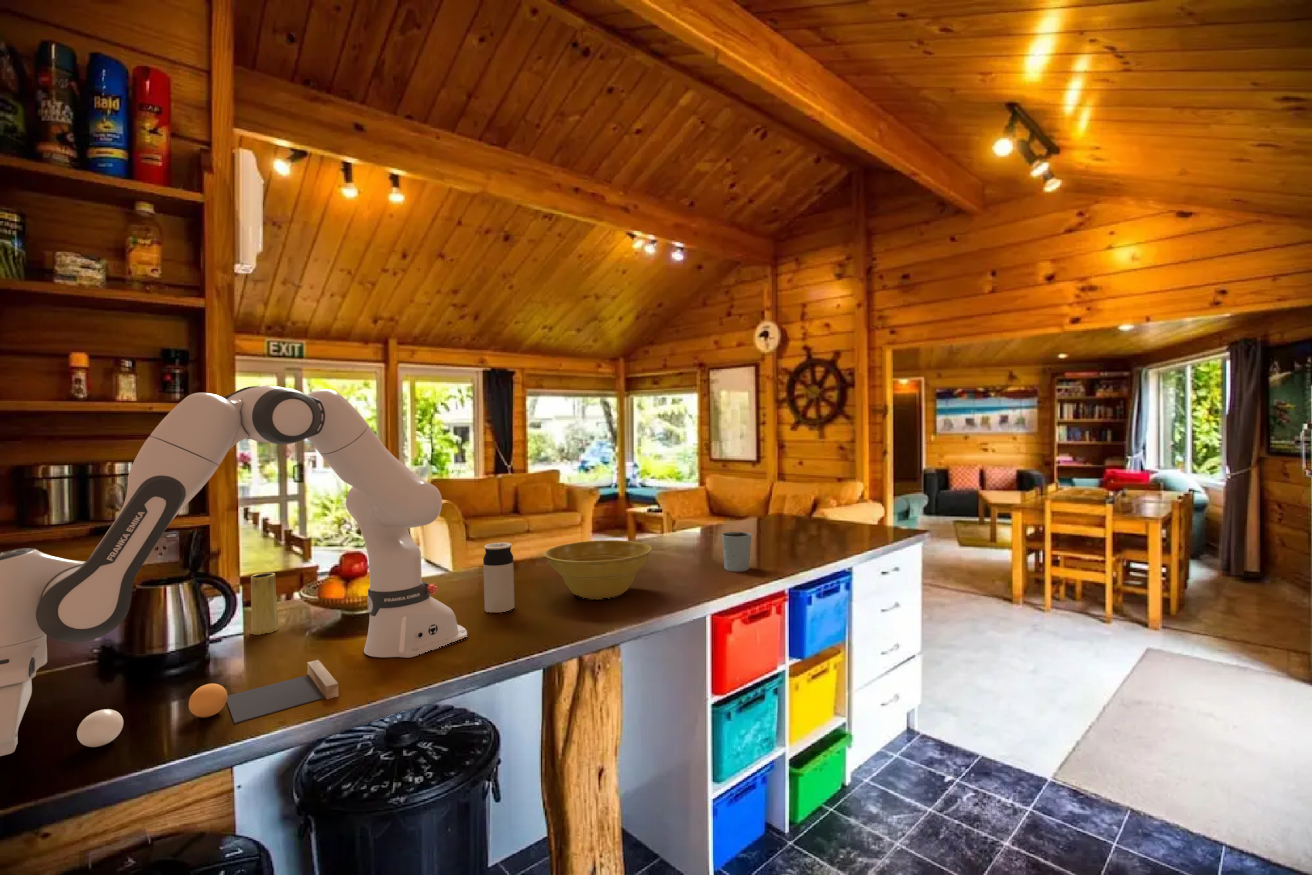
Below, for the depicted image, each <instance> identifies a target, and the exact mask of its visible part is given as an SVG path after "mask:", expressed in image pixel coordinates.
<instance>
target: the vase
mask: <svg viewBox="0 0 1312 875" xmlns="http://www.w3.org/2000/svg"><path fill="white" fill-rule="evenodd" d="M276 585H277V584H276V574H275V572H263V573H257V574H254V575H251V576H250V608H251V611H250V612H251V613H250V614H251V616H250V617H251V618H250V635H252V634H253V636H261V634H263V635H266V634H265V633H268V634H272V633H274V631H275V632H277V631H278V630H279V629H280V626H279V615H278V612H279V611H278V601H277V592H276V591H277V589H276Z"/></svg>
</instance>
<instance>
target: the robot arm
mask: <svg viewBox="0 0 1312 875" xmlns="http://www.w3.org/2000/svg"><path fill="white" fill-rule="evenodd" d="M246 439H247V440H252V441H255V442H257V443H264V444H274V445H291V444H295V443H298V442H301V441H303V440H305V439H306V440H308V441H309V442H310V443H311V444H312V445H313V447H314V448H315V450H316V451H317V452H318V454H320V456H321V457H322V459H324V460H325V463H327V464H328V465H329V466H330V468H331V469H332V470H333V471H334V472H335V474H336V475H337V476H338V478H339V479H340V480H342V481H343V482H344V483H345V484H347V485H349V486H351V488H350V489H349V490H348V492H347V495H346V499H345V505H346V510H347V512H348V514H349V515H350V516H351V517H352V518H353V519H354V520H355V522H356V523H357V525H358V527H359V530H360V532H361V535H362V538H363V541H364V545H365V548H366V553H367V557H368V573H369V576H368V577H369V588H368V589H367V596H366V597H367V599H366V600H367V610H368V614H369V618H368V619H369V620H368V622H369V623H368V629H367V630H368V631H367V635H366V641H365V645H364V648H363V653H364V654H365V655H367V656H369V657H373V658H407V659H408V658H413V657H416V656H420V655H423V654H425V652H426V653H428V651H429V652H431V651H430V650H432V651H435V650H437V649H440V648H442V647H441V646H443V647H446V646H448V645H447V644H449V643H451V642H455V641H457V640H459V639H462V638H464V637H467V638H468V636H467V635H468V631H467V629H466V628H465V627H463V626H462V625H461V624H458V620H457V617H456V614H455V613H454V611H453V609H452V608H451V607H450V606H448V605H446V604H444V603H443V602H441V601H439V600H438V599H436V598H434V597H432V596H431V594H432V595H435V594H436V593H437V592H438V590H439V589H438V586H437V585H435V584H434V583H428V582H425V581H423V580H422V573H423V572H422V552H421V549H420V547H419V545H418V544H417V543H416V542H415V541H414V539H413V538H412V537H411V535H410V533H409V529H413V528H417V527H423V526H427V525H430V524H432V523H434V521H436V520H437V518H438V517H439V515H440V514H441V511H442V508H443V497H442V494H441V491H440V490H439V489H438V488H437V486H436V485H434V484H432V483H430V482H428V481H426V480H424V479H423V478H422V477H420V476H419V475H417V474H416V473H415V472H413V470H411V469H410V468H409V467H407V466H406V465H405V464H404V463H403V462H401V461H400V460H399V459H398V458H397V457H395V456H394V455H393V454H392V452H390V451H389V450H388V449H387V447H385V445H384V443H382V441H381V440H380V439H379V437H378V436H377V434H376V433H375V431H374V430H373V428H371V426H370V425H369V424H368V422H367V421H366V420H365V419H364V417H363V416H362V415H361V414H360V412H359V411H358V410H357V409H356V408H355V407H354V405H352V404H351V403H350V402H349V400H347V399H346V398H345V397H344V396H343V395H342V394H340V393H339V392H337V391H336V390H333V389H330V388H325V389H324V388H323V389H317V390H315V391H311V392H310V393H308V394H306V393H304V392H302V391H300V390H297V389H294V388H290V387H288V388H287V387H282V386H277V385H261V386H259V385H258V386H257V385H252V386H246V387H243V388H240V389H238V390H236V391H234V392H232V393H230V394H228V395H226V396H220V395H218V394H214V393H209V392H195V393H190V394H189V395H188V396H186V397H185V398H184V399H182V400H181V401H180V402H178V404H176V406H174V407H173V409H172V410H171V411H169V412H168V413H167V415H166V416H164V418H163V419H162V420H161V421H160V422H159V423H158V425H157V426H156V427H155V428H154V429H153V431H152V432H151V434H150V435H149V436H148V437H147V438H146V440H145V441H144V443H143V444H142V446H141V448H140V449H139V451H138V453H137V455H136V457H135V458H134V460H133V463H132V465H131V467H130V470H129V472H128V478H127V488H126V489H127V490H126V496H125V500H124V502H123V505H122V507H121V510H120V512H119V513H118V515H117V517H116V519H115V520H114V521H113V523H112V524H111V526H110V527H109V529H108V530H107V531H106V532H105V535H104V536H103V538H102V539H101V540H100V542H99V543H98V544H97V546H96V547H95V549H94V550H93V552H92V553H91V554H90V556H89V558H88V559H87V560H86V561H85V560H84V561H82V560H74V559H68V558H64V557H63V558H62V557H60V556H53V555H50V554H47V553H44V552H42V551H39V550H38V549H36V548H30V547H28V548H27V547H26V548H17V549H11V550H6V551H1V552H0V757H2V756H6V755H7V756H8V755H10V754H12V753H14V752H15V751H16V748H17V745H18V742H19V741H18V733H19V732H18V731H19V727H20V724H21V722H22V720H23V717H24V714H25V711H26V709H27V707H28V704H29V701H30V699H31V697H32V693H33V685H32V679H34V678H35V677H36V675H37V671H38V670H39V668H41V667H43V666H45V665H46V664H47V663H48V647H47V646H48V644H47V636H48V637H49V638H51V639H53V640H56V641H60V642H65V643H84V642H89V641H93V640H96V639H99V638H103V637H104V636H106V635H107V634H109V633H111V632H112V631H114V630H116V628H117V627H119V625H121V624H122V623H123V622H124V620H126V617H127V615H128V614H129V611H130V608H131V605H132V604H131V603H132V595H133V594H132V593H133V586H134V581H135V579H136V577H137V575H138V573H139V571H140V570H141V568H142V567H143V565H144V563H145V562H146V560H147V559H148V557H149V555H150V554H151V553H152V551H153V550H154V548H155V546H156V545H157V543H158V542H159V540H160V539H161V537H162V535H163V534H164V532H165V531H166V530H167V528H168V527H169V525H170V524H171V522H172V521H173V520H174V519H175V517H177V515H179V513H180V512H181V511H182V510H183V509H184V507H186V506H187V504H189V502H191V500H193V498H195V496H196V495H197V494H198V493H200V491H202V489H203V487H204V486H206V484H207V483H208V482H209V480H210V479H211V478H212V477H213V475H215V472H216V471H217V470H218V468H219V466H221V464H222V462H223V460H224V459H225V457H226V455H227V454H228V452H229V451H230V450H231V449H232V448H233V447H234V446H235V445H236V444H238V443H239V442H241V441H242V440H246ZM408 528H409V529H408ZM455 643H456V642H455ZM445 645H446V646H445ZM449 645H450V644H449ZM439 647H440V648H439ZM419 654H420V655H419Z"/></svg>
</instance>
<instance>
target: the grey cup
mask: <svg viewBox="0 0 1312 875" xmlns="http://www.w3.org/2000/svg"><path fill="white" fill-rule="evenodd" d="M721 541H722V551H723V553H722V554H723V562H724V563H723V564H724V565H723V566H724V570H725V569H726V570H725V571H728V572H735V573H737V572H738V573H740V572H747V571H749V570H750V561H751V559H750V558H751V543H752V533H750V532H743V531H731V532H730V531H729V532H723V533H722V534H721ZM748 569H749V570H748ZM746 570H747V571H746Z"/></svg>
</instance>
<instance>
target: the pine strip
mask: <svg viewBox="0 0 1312 875" xmlns="http://www.w3.org/2000/svg"><path fill="white" fill-rule="evenodd" d="M306 665H307V667H306V668H307V675H309V676H310V677H311V678H312V680H313V681H314V682H315V684H316V685H317V687H318V688H319V689H320V691H321V692H322V693H323V695H324V696H325V698H324V699H325V700H326V701H327V700H330V699H333V698H334V697H335V698H338V697H339V682H338V681H337V680H336V679H335V678H334V677H333V676H332V674H331V673H330V672H329V671H328V669H327V668H326V667H325V666H324V664H323V663H322V662H321V661H320V660H319V659H316V660H312V661H307V663H306Z"/></svg>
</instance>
